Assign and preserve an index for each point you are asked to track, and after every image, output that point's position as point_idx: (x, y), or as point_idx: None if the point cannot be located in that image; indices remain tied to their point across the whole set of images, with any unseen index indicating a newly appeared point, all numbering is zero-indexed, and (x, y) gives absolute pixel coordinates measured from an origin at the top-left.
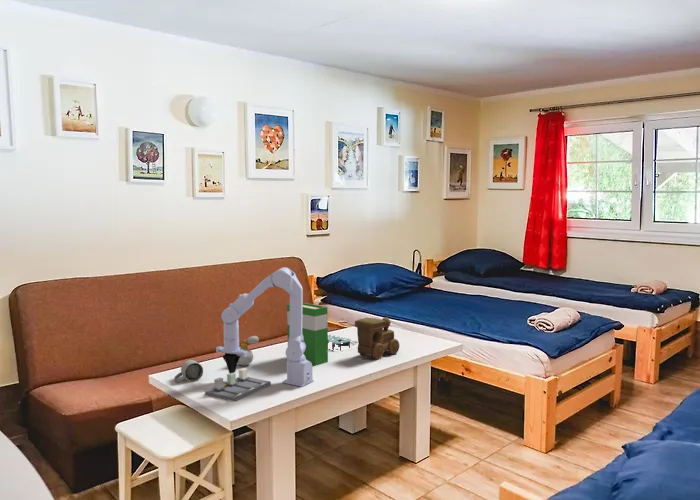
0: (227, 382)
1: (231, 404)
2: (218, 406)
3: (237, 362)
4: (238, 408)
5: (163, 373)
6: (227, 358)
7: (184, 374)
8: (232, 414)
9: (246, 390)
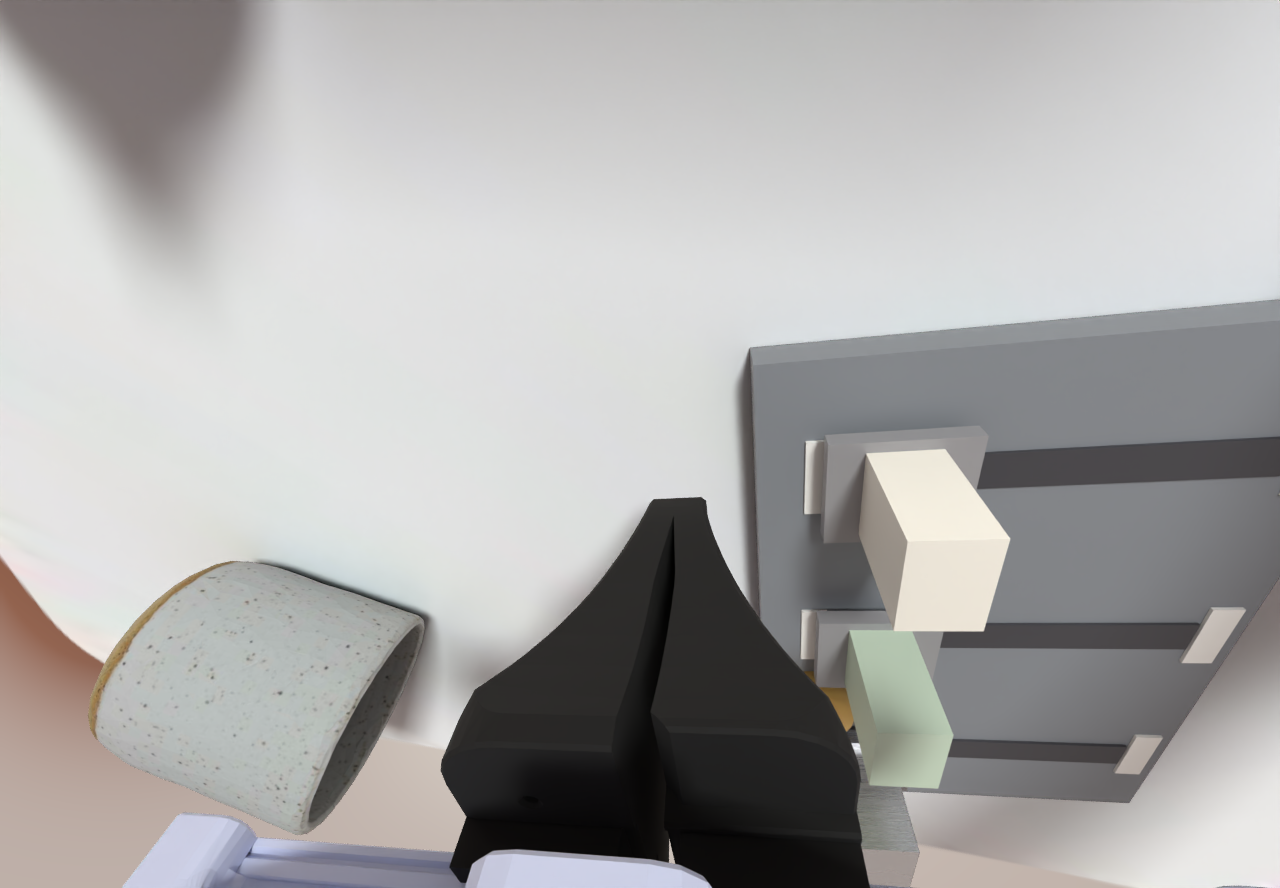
0: (849, 687)
1: (1117, 802)
2: (1032, 836)
3: (748, 606)
4: (1224, 826)
5: (66, 620)
6: (668, 848)
7: (369, 752)
8: (1226, 878)
9: (1161, 677)
